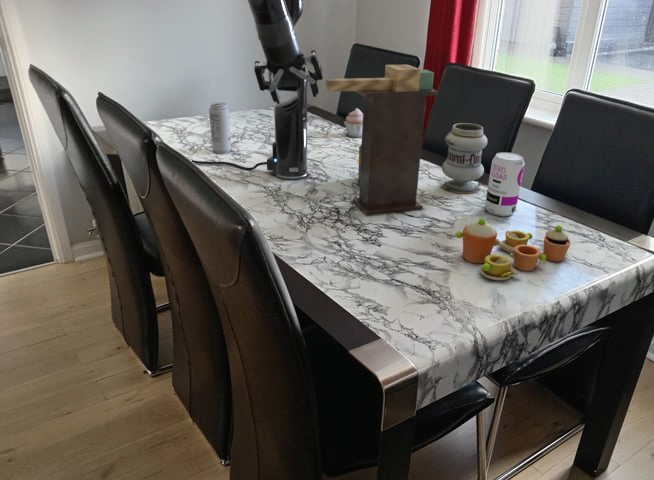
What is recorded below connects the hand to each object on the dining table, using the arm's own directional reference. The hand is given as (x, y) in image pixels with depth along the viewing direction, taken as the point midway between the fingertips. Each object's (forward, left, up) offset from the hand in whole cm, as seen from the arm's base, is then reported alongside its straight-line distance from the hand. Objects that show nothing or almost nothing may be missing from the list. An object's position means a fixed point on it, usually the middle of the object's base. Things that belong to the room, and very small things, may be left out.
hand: (296, 98), depth 132 cm
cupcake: (-11, +79, -29) cm, 85 cm away
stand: (+19, +15, -28) cm, 38 cm away
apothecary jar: (+35, +38, -29) cm, 59 cm away
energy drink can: (-44, +39, -29) cm, 65 cm away
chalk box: (+11, +31, -29) cm, 44 cm away
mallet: (+14, +11, +2) cm, 18 cm away
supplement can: (+48, +24, -29) cm, 61 cm away
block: (+25, +19, +2) cm, 32 cm away
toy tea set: (+54, -5, -29) cm, 61 cm away
